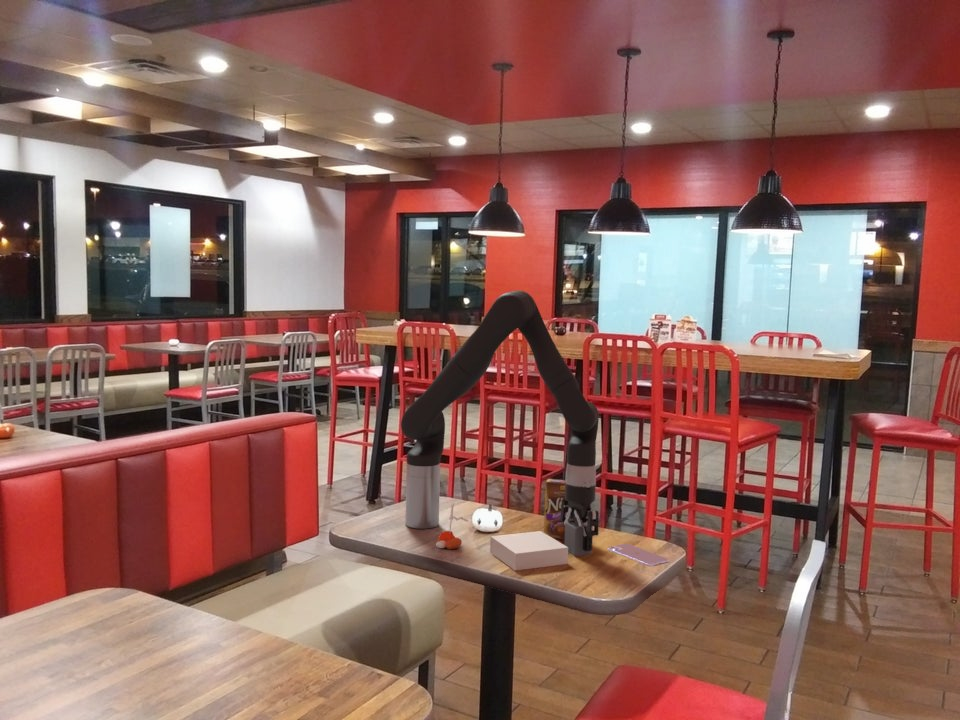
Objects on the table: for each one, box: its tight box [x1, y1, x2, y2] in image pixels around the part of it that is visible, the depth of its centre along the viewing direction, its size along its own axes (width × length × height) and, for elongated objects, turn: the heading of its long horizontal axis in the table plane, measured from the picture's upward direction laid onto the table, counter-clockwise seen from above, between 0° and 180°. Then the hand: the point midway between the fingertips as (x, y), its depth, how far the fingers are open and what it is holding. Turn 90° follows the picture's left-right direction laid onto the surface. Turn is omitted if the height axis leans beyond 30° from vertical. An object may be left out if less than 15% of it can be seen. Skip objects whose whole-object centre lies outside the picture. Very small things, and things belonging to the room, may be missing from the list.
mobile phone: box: [607, 543, 670, 567], centre depth 193 cm, size 8×1×15 cm
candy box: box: [543, 477, 568, 540], centre depth 205 cm, size 9×4×15 cm, turn 74°
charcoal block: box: [564, 522, 594, 557], centre depth 194 cm, size 5×5×7 cm
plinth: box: [489, 530, 569, 572], centre depth 189 cm, size 14×14×4 cm
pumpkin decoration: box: [435, 503, 469, 550], centre depth 194 cm, size 6×10×12 cm, turn 46°
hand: (578, 545), depth 194 cm, fingers open, 8 cm apart
